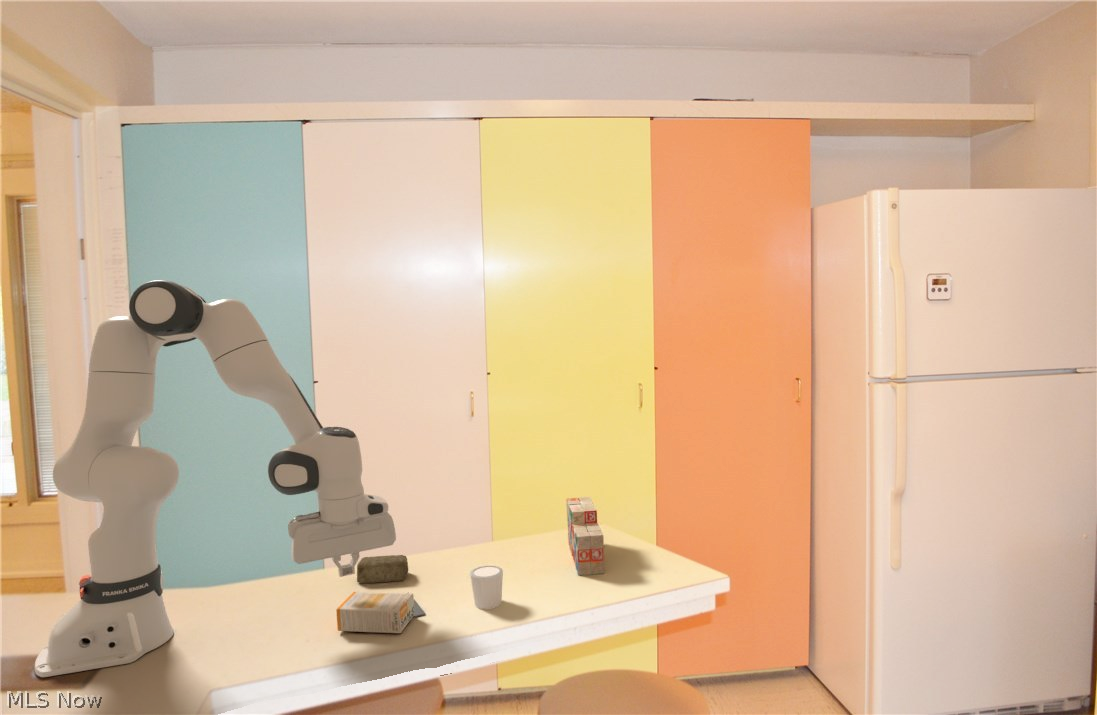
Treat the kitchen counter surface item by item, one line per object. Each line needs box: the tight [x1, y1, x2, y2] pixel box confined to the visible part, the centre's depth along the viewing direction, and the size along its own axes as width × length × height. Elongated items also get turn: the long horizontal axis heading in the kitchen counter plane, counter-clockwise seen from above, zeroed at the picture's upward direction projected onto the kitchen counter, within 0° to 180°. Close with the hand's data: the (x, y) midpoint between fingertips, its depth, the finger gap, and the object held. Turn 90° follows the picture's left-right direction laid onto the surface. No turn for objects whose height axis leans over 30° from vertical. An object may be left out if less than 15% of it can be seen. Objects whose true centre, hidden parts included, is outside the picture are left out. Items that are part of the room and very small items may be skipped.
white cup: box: [469, 565, 504, 610], centre depth 147 cm, size 7×7×7 cm
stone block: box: [356, 554, 409, 584], centre depth 163 cm, size 6×12×5 cm, turn 94°
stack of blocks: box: [565, 496, 605, 576], centre depth 170 cm, size 21×6×12 cm, turn 4°
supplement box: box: [336, 591, 415, 634], centre depth 139 cm, size 8×5×13 cm
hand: (346, 574), depth 141 cm, fingers closed
